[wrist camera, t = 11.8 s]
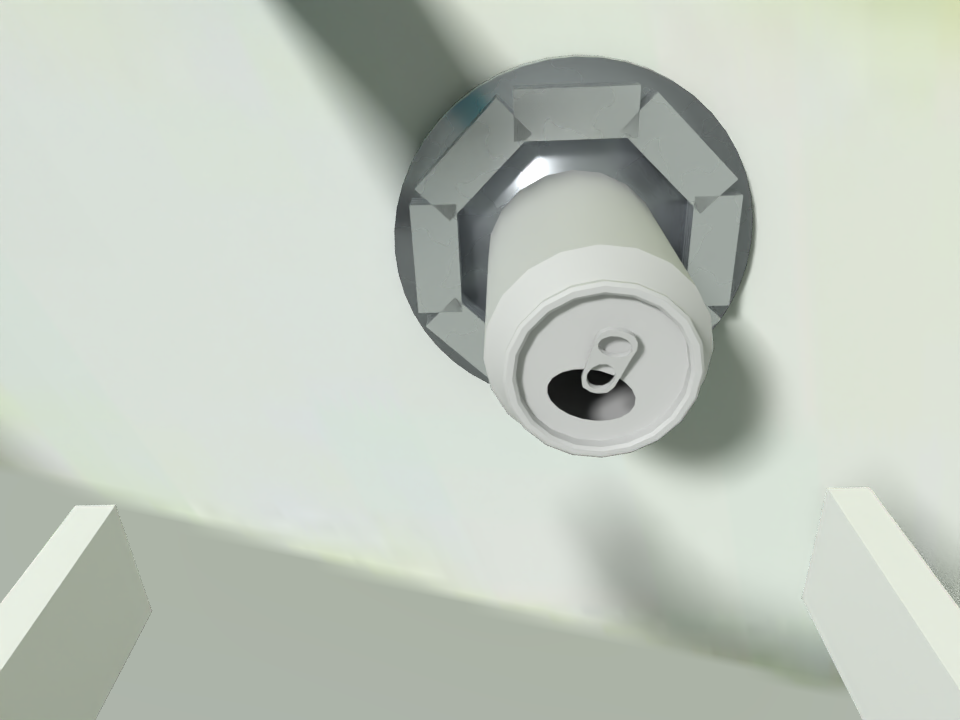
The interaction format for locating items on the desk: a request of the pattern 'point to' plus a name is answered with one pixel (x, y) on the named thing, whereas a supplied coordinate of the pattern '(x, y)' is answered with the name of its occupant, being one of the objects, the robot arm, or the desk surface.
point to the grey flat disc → (558, 148)
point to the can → (591, 318)
